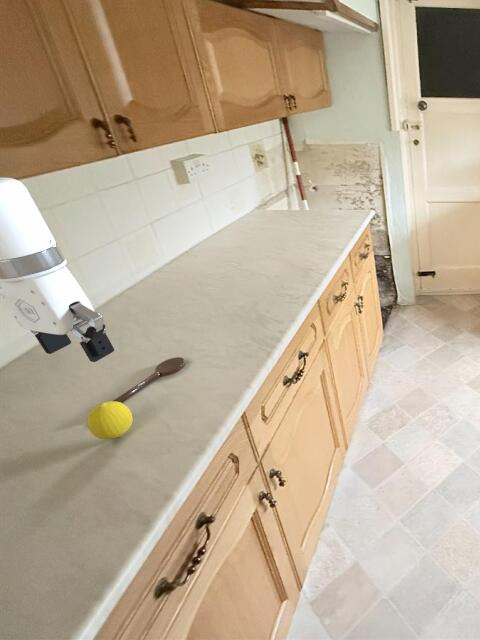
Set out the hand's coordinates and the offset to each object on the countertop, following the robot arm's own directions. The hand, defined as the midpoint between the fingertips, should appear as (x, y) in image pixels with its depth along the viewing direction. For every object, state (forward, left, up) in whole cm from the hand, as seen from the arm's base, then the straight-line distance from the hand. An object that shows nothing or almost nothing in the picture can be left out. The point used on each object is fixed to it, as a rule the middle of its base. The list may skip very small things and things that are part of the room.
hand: (81, 352), depth 67 cm
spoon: (-9, +10, -18) cm, 23 cm away
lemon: (0, -1, -19) cm, 19 cm away
